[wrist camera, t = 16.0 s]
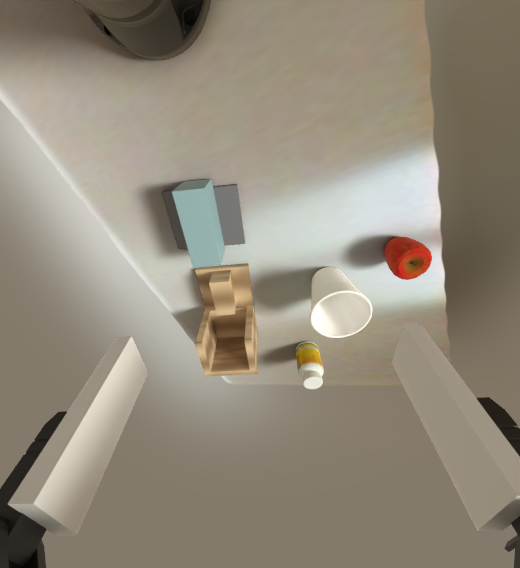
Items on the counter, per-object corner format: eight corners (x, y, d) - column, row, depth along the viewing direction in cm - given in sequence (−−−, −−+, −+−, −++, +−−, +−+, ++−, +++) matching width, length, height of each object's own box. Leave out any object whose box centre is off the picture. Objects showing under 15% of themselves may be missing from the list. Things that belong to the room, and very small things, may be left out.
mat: (163, 191, 43) (161, 192, 42) (236, 183, 42) (236, 185, 41) (179, 247, 48) (178, 249, 48) (244, 241, 48) (244, 243, 47)
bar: (182, 181, 41) (171, 191, 36) (211, 178, 41) (204, 188, 36) (200, 251, 48) (193, 267, 43) (224, 248, 47) (220, 265, 42)
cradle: (196, 267, 51) (181, 302, 41) (248, 263, 50) (244, 298, 41) (214, 336, 60) (205, 376, 51) (257, 333, 60) (256, 373, 51)
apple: (402, 264, 50) (422, 286, 44) (372, 258, 49) (387, 280, 43) (420, 233, 46) (444, 253, 40) (387, 226, 46) (407, 245, 40)
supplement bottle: (319, 354, 63) (327, 389, 55) (297, 357, 64) (302, 393, 56) (316, 338, 61) (324, 373, 53) (293, 342, 61) (298, 377, 53)
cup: (308, 305, 55) (318, 344, 46) (295, 266, 50) (303, 301, 41) (356, 291, 53) (376, 329, 44) (347, 250, 48) (367, 283, 39)
